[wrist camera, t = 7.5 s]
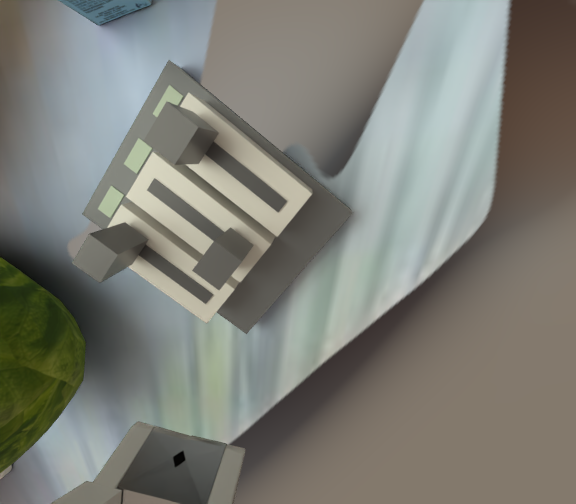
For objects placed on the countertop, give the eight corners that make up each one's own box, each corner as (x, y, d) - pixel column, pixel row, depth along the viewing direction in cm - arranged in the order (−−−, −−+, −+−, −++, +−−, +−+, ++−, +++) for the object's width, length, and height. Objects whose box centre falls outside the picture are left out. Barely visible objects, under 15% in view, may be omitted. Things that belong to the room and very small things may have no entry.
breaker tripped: (234, 270, 22) (219, 290, 18) (211, 252, 22) (192, 270, 18) (253, 245, 21) (242, 261, 18) (230, 227, 21) (214, 240, 18)
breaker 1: (132, 264, 22) (99, 283, 19) (109, 247, 22) (71, 263, 19) (148, 239, 22) (117, 254, 18) (125, 221, 22) (88, 233, 18)
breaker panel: (250, 322, 29) (238, 355, 24) (98, 210, 27) (51, 221, 22) (349, 208, 25) (358, 220, 20) (180, 68, 23) (145, 44, 18)
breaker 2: (198, 164, 20) (174, 164, 17) (173, 143, 20) (143, 140, 16) (219, 132, 19) (198, 127, 16) (193, 111, 19) (166, 101, 16)
